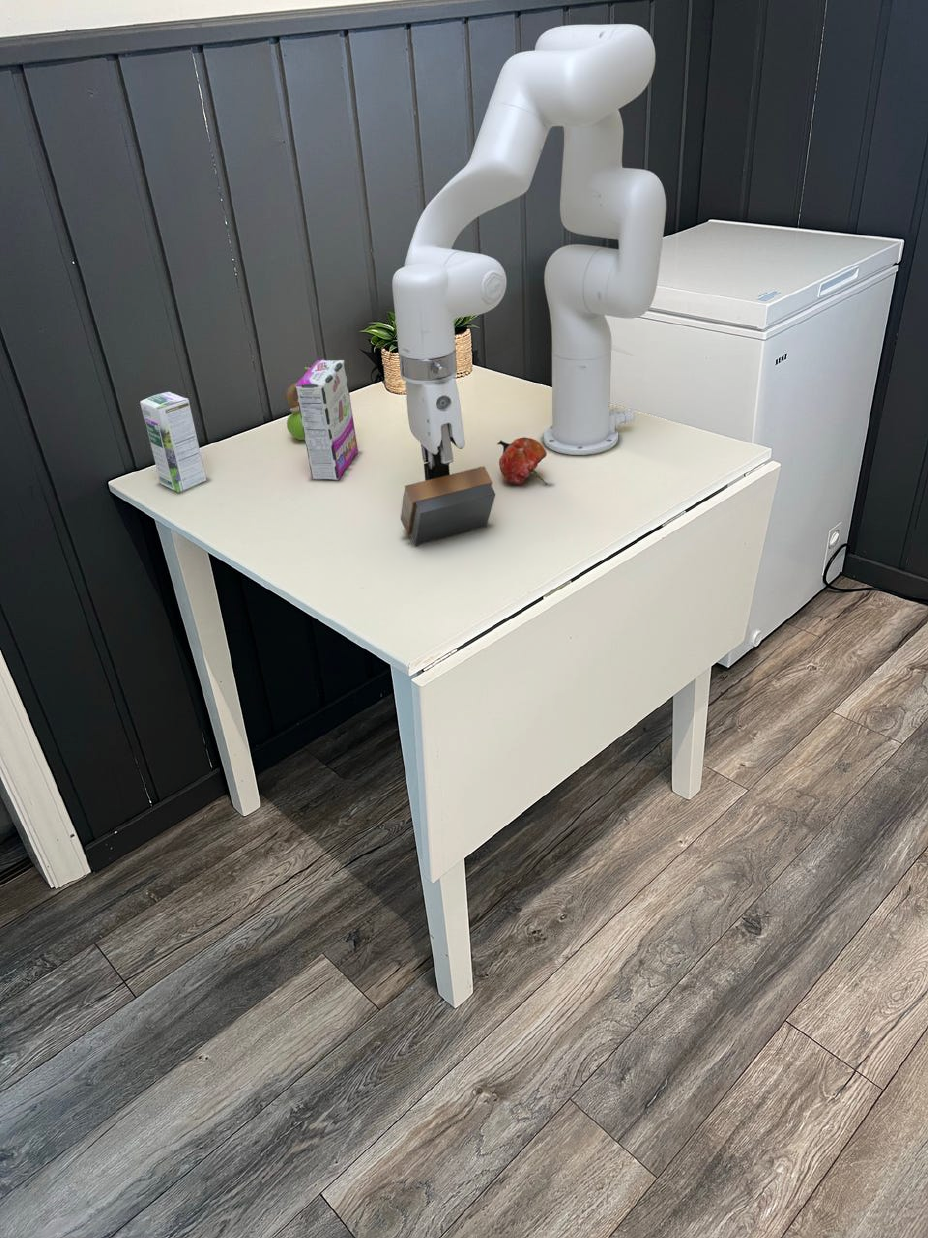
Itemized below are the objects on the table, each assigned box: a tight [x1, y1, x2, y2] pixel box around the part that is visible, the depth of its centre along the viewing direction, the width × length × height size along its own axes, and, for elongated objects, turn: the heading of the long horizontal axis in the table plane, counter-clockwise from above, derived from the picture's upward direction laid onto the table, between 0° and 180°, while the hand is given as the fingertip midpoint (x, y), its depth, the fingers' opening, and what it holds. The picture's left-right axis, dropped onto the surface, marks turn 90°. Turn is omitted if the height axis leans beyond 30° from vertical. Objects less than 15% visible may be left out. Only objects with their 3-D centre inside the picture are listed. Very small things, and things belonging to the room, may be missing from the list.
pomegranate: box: [497, 436, 548, 486], centre depth 148 cm, size 7×7×10 cm
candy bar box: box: [295, 359, 359, 481], centre depth 154 cm, size 11×5×16 cm, turn 168°
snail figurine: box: [285, 366, 311, 441], centre depth 165 cm, size 5×6×12 cm
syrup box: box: [139, 391, 207, 493], centre depth 152 cm, size 6×6×14 cm
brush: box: [400, 466, 496, 547], centre depth 134 cm, size 12×5×8 cm, turn 113°
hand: (438, 488), depth 135 cm, fingers closed
